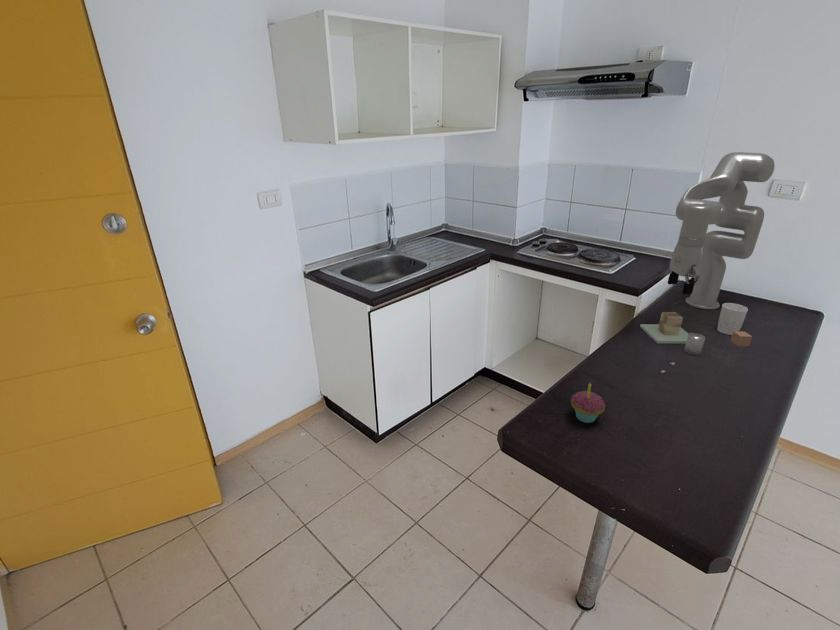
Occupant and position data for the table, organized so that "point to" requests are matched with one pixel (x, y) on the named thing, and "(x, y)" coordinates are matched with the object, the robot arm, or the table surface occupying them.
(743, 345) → the terracotta cube
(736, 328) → the white cup
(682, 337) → the sage plate
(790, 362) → the table surface
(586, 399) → the cupcake
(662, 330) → the maple block
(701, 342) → the grey metal cylinder
